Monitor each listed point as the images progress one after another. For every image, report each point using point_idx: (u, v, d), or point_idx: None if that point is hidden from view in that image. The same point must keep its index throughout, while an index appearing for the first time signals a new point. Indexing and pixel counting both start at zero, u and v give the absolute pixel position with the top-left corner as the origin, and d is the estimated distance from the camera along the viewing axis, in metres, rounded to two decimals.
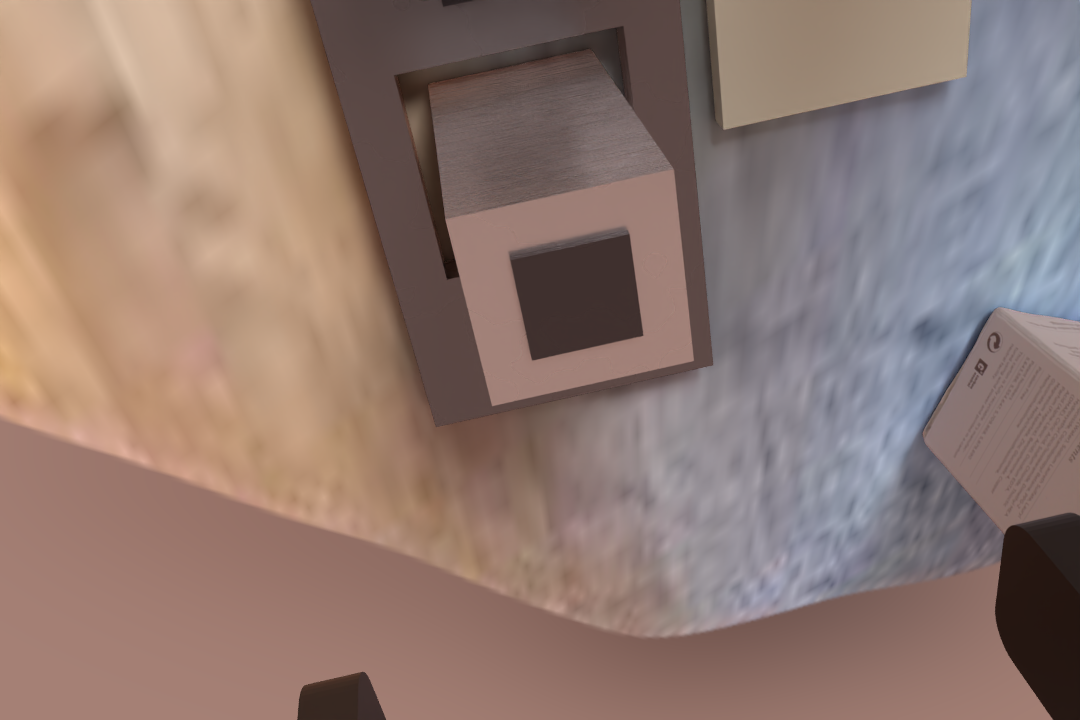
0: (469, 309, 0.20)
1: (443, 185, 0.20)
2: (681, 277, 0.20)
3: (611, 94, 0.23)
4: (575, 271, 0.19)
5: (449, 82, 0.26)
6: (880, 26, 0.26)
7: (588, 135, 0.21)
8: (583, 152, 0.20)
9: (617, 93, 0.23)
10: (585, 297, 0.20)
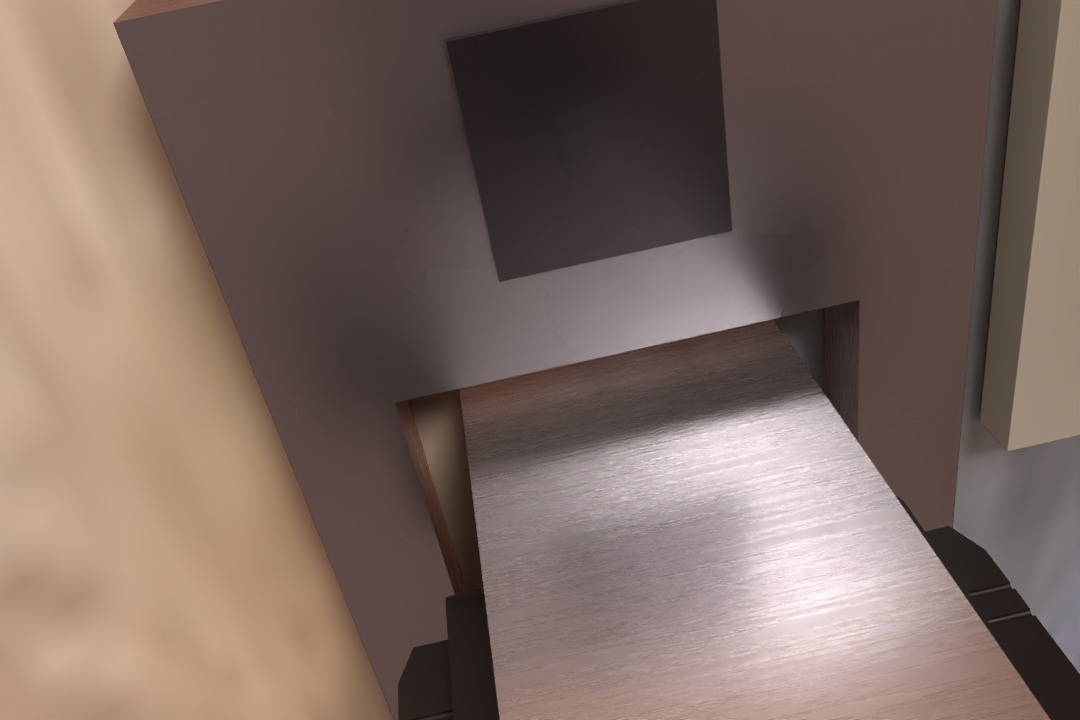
0: None
1: None
2: None
3: (877, 504, 0.10)
4: None
5: (501, 388, 0.13)
6: None
7: (882, 699, 0.08)
8: None
9: (890, 502, 0.10)
10: None
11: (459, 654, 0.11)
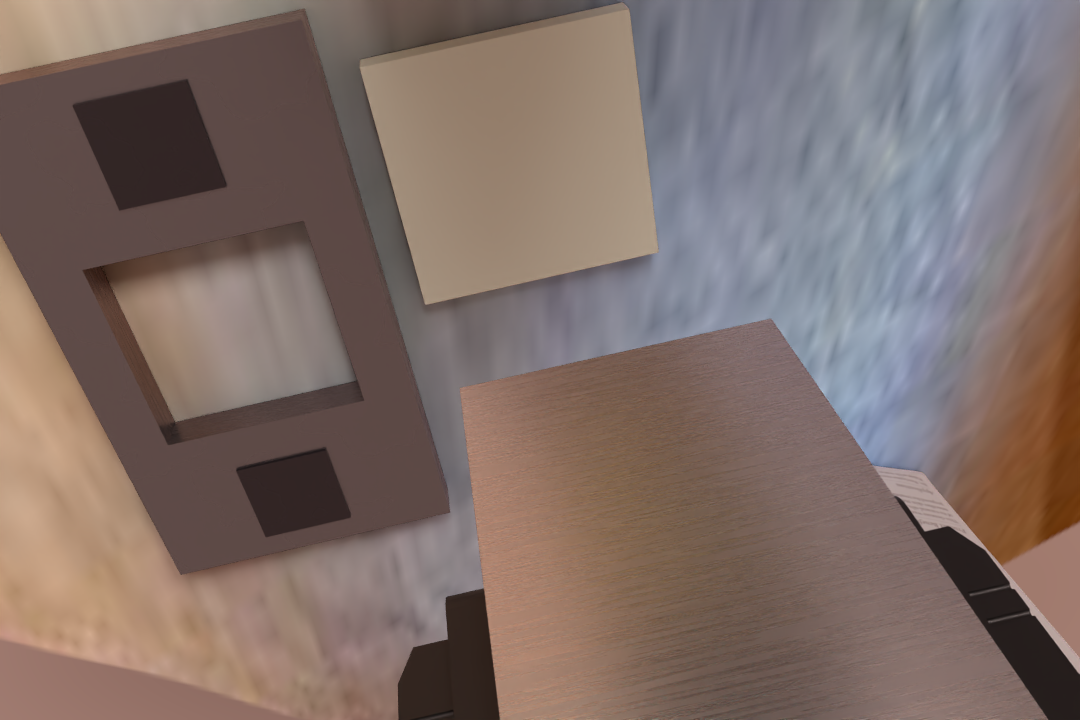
0: None
1: None
2: None
3: (877, 506, 0.10)
4: None
5: (501, 390, 0.13)
6: (564, 211, 0.27)
7: (882, 703, 0.08)
8: None
9: (890, 505, 0.10)
10: None
11: (459, 654, 0.11)
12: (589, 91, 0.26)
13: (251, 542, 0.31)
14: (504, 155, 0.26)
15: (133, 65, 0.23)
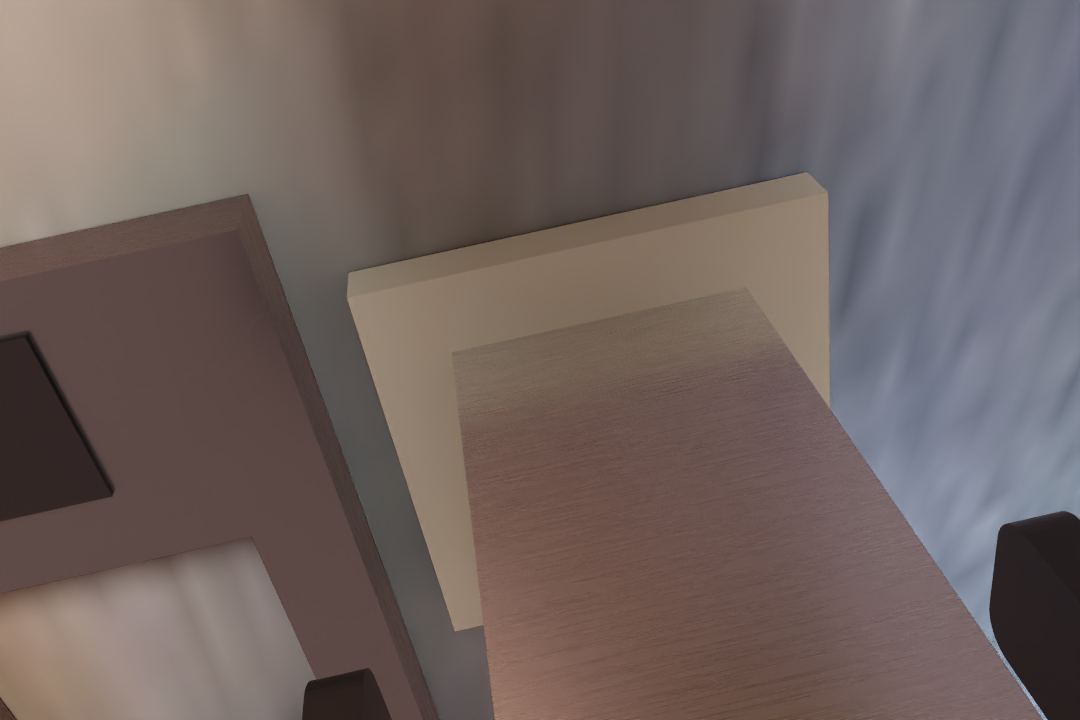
0: None
1: None
2: None
3: (837, 453, 0.11)
4: None
5: (491, 354, 0.14)
6: None
7: (834, 621, 0.09)
8: (846, 706, 0.08)
9: (850, 451, 0.11)
10: None
11: None
12: None
13: None
14: None
15: None
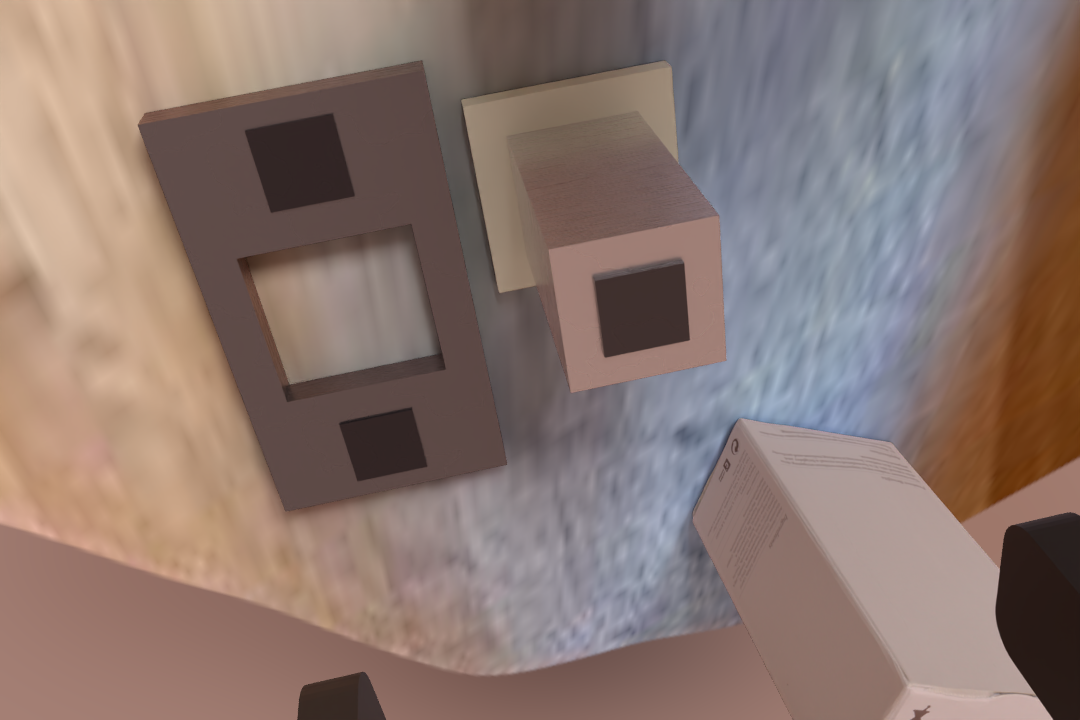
0: (560, 317, 0.26)
1: (540, 222, 0.26)
2: (720, 296, 0.26)
3: (661, 152, 0.29)
4: (642, 290, 0.26)
5: (524, 135, 0.32)
6: None
7: (648, 185, 0.27)
8: (647, 199, 0.26)
9: (665, 151, 0.29)
10: (648, 310, 0.26)
11: None
12: None
13: (345, 485, 0.38)
14: None
15: (293, 102, 0.30)
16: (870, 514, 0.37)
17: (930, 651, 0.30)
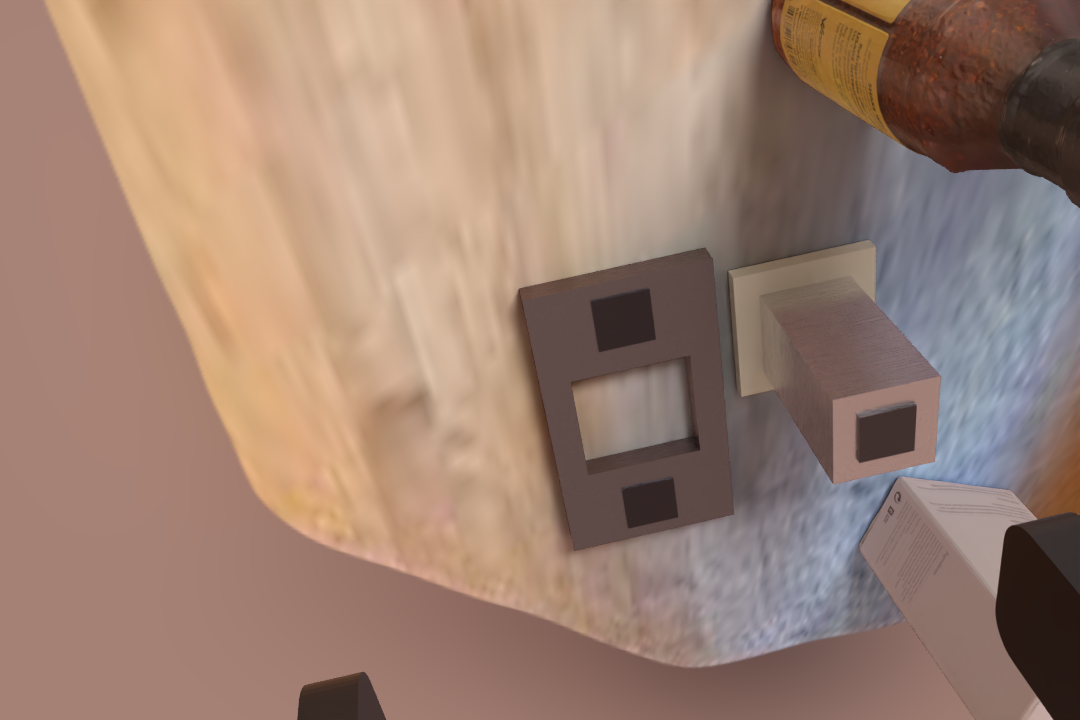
0: (833, 439, 0.40)
1: (818, 377, 0.40)
2: (935, 423, 0.40)
3: (881, 316, 0.43)
4: (888, 422, 0.40)
5: (773, 295, 0.46)
6: None
7: (882, 347, 0.41)
8: (886, 360, 0.41)
9: (884, 316, 0.43)
10: (890, 433, 0.40)
11: None
12: None
13: (618, 531, 0.53)
14: None
15: (624, 282, 0.45)
16: None
17: None
